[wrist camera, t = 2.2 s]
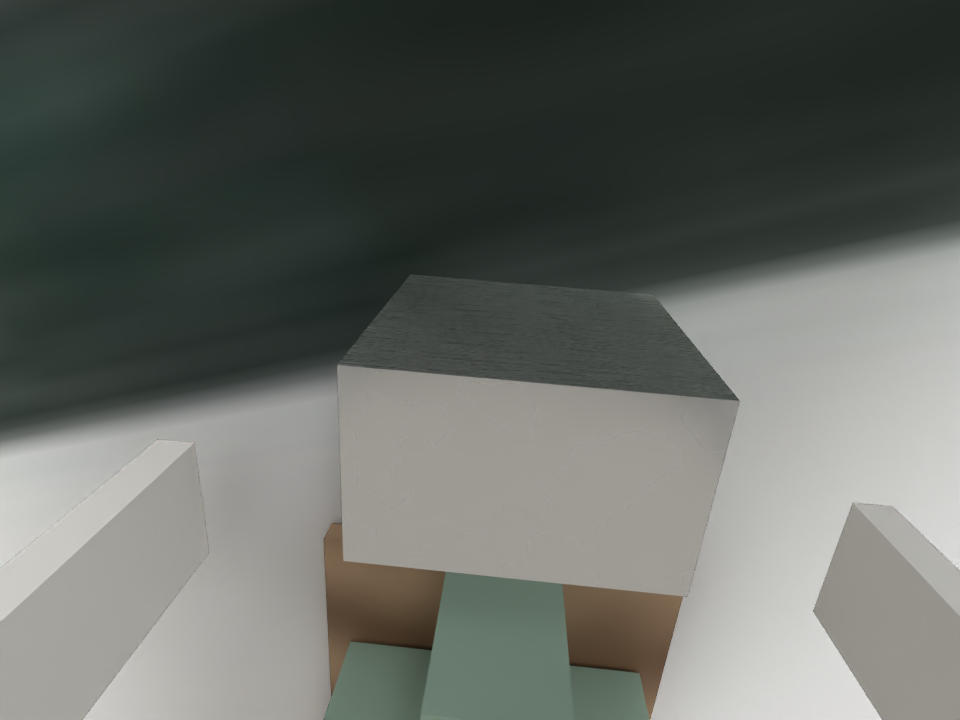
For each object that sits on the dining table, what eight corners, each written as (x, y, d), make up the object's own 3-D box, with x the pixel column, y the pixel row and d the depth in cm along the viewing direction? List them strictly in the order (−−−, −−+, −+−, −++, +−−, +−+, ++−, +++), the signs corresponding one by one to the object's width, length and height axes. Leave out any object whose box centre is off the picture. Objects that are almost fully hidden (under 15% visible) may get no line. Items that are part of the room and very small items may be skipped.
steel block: (410, 274, 19) (336, 364, 11) (652, 294, 18) (739, 401, 11) (408, 407, 21) (343, 560, 13) (627, 428, 20) (687, 596, 13)
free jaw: (347, 524, 21) (269, 696, 15) (667, 557, 21) (733, 749, 14) (351, 675, 24) (288, 874, 18) (631, 707, 24) (672, 922, 17)
